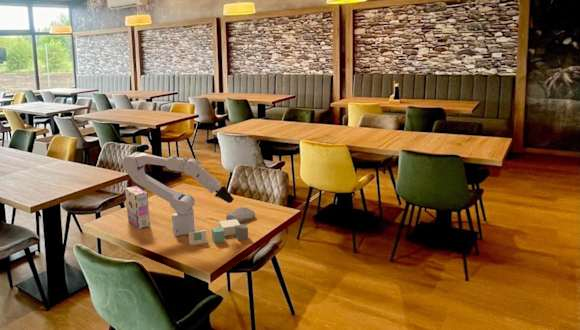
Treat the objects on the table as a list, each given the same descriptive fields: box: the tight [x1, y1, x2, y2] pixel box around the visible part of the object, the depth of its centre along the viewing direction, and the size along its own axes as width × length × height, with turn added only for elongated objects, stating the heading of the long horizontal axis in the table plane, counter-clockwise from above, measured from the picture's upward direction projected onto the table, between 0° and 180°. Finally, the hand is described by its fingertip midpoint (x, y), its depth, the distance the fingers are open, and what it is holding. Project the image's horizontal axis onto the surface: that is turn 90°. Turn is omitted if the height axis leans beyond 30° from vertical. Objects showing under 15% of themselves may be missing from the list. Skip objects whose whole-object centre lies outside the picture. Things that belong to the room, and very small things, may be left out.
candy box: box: [124, 185, 151, 230], centre depth 214 cm, size 14×6×16 cm, turn 37°
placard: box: [188, 229, 208, 246], centre depth 195 cm, size 7×3×5 cm, turn 111°
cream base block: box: [218, 219, 241, 236], centre depth 207 cm, size 8×8×4 cm
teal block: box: [211, 226, 226, 244], centre depth 197 cm, size 4×4×5 cm
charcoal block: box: [234, 223, 249, 241], centre depth 200 cm, size 4×4×5 cm
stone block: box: [225, 206, 256, 224], centre depth 221 cm, size 12×5×10 cm
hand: (231, 201), depth 202 cm, fingers open, 7 cm apart
